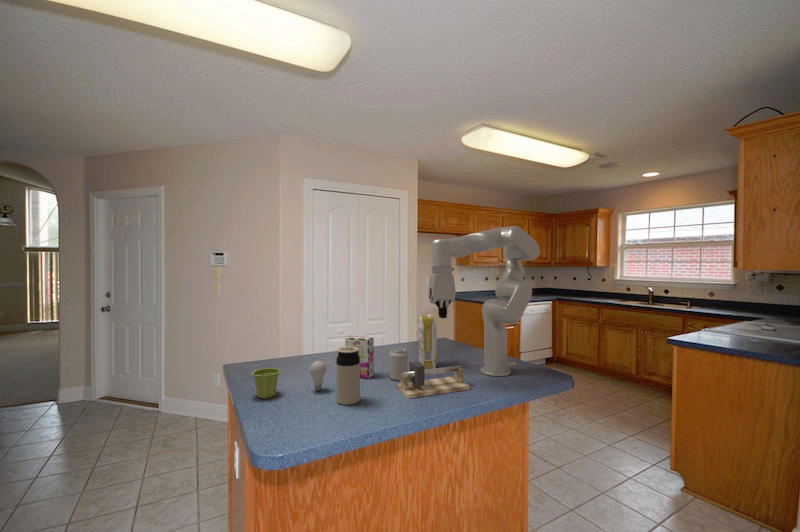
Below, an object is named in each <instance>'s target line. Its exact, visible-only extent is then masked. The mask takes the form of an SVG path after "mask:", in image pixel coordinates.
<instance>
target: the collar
mask: <svg viewBox="0 0 800 532" xmlns="http://www.w3.org/2000/svg"><path fill="white" fill-rule="evenodd" d="M408 364H409V365H408V366H409V367H408V372H410V371H415V377H409V382H412V383H413V384H415V385H416V386H423V385H425V380H426V379H425V376H426V375H425V370H426V369H425V366H423V365H422V364H420V363H419V361H409V362H408Z"/></svg>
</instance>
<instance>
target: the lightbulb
mask: <svg viewBox="0 0 800 532" xmlns="http://www.w3.org/2000/svg"><path fill="white" fill-rule="evenodd" d="M309 373H310V376H311V377H312V380H313V385H314V390H315V391H317V392H319V391H320V390H322V388H323V387H322V386H323V380H324V376H325V375H326V373H327V365H326V364H325V362H323V361H321V360H316V361H313V362H312V363H311V365H310V367H309Z"/></svg>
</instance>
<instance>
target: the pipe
mask: <svg viewBox="0 0 800 532" xmlns="http://www.w3.org/2000/svg"><path fill="white" fill-rule="evenodd" d="M459 369H463V368H462V366H461V364H460V365H452V366H445V367H444V366H443V367H438V368H437V367H435V368H434V369H425V376H430V375H436V374H437V375H438V374H445V373H453V372H454V373H455V371H458V370H459ZM402 375H404V376H409V377H415V371H410V372H409V371H408V372H403V373H402Z"/></svg>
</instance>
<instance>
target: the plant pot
mask: <svg viewBox="0 0 800 532" xmlns="http://www.w3.org/2000/svg"><path fill="white" fill-rule="evenodd" d="M280 373H281V370H280V369H279V368H274V367H268V368H260V369H257V370H254V371H253V372H251V375H252V376H253V379H254V384H255V390H256V396H257V398H260V399H270V398H272V397H274V396H276V393H277V384H278V378H279V376H280V375H279V374H280Z"/></svg>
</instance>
